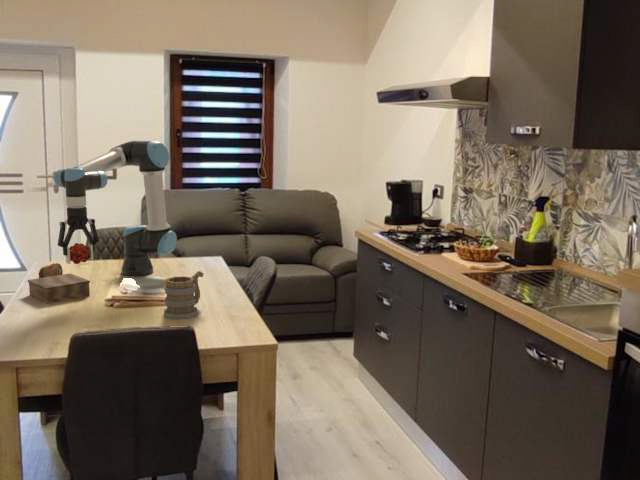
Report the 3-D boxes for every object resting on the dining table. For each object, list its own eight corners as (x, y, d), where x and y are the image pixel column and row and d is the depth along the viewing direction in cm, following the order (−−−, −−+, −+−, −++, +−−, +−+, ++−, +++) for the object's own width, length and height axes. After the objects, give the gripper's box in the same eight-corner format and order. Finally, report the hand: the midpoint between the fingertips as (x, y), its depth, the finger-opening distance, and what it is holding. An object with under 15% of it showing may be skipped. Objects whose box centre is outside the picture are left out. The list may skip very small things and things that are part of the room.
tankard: (181, 321, 245) (180, 282, 242) (157, 315, 252) (155, 277, 249) (216, 308, 262) (216, 272, 259) (193, 303, 268) (192, 268, 266)
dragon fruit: (81, 262, 273) (81, 273, 262) (63, 252, 269) (62, 262, 259) (93, 246, 273) (94, 256, 262) (75, 235, 269) (75, 245, 258)
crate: (71, 288, 291) (70, 273, 290) (90, 296, 278) (89, 280, 277) (28, 296, 278) (27, 280, 277) (47, 304, 265) (46, 288, 264)
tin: (44, 286, 292) (43, 268, 291) (37, 286, 293) (36, 268, 291) (63, 279, 307) (62, 261, 305) (57, 278, 307) (56, 261, 306)
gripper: (98, 203, 272) (101, 256, 276) (45, 207, 258) (49, 263, 262) (106, 205, 266) (109, 259, 271) (53, 210, 252) (56, 266, 256)
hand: (79, 261), depth 266 cm, fingers closed on dragon fruit, 9 cm apart
